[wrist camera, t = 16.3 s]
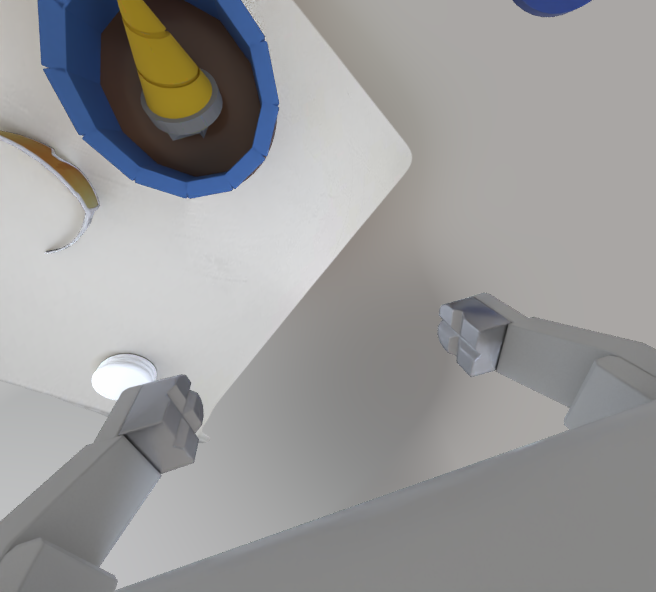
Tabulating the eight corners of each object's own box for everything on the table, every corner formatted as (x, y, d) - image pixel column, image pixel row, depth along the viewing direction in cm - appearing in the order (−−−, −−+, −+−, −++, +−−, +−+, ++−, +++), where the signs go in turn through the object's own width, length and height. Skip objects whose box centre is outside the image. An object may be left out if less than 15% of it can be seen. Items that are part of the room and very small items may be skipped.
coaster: (168, 375, 56) (163, 388, 53) (127, 395, 57) (119, 409, 54) (132, 344, 51) (124, 356, 48) (87, 367, 51) (76, 380, 48)
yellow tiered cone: (158, 144, 22) (24, -33, 12) (203, 104, 23) (113, -85, 13) (204, 176, 21) (99, 12, 11) (248, 133, 22) (187, -48, 13)
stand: (253, 49, 35) (248, -46, 18) (279, 165, 42) (293, 177, 25) (142, 63, 33) (21, -26, 16) (189, 181, 40) (139, 206, 23)
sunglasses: (122, 195, 39) (103, 205, 35) (71, 256, 43) (48, 271, 39) (5, 102, 32) (-37, 100, 28) (-43, 185, 36) (-86, 194, 32)
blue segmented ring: (245, -38, 18) (242, -82, 15) (289, 174, 25) (294, 178, 21) (29, -19, 16) (-31, -63, 13) (140, 202, 23) (120, 211, 20)
